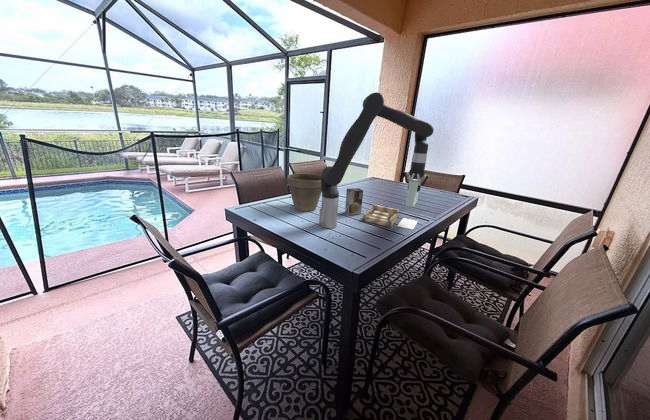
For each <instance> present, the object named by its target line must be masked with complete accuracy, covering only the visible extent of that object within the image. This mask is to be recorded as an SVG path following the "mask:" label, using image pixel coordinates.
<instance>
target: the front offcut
mask: <svg viewBox="0 0 650 420" xmlns="http://www.w3.org/2000/svg"><path fill="white" fill-rule="evenodd" d="M371 217H374V218H379V219H383V220H387V217H385V216H381V215H377V214H372V215H371Z"/></svg>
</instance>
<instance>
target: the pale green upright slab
mask: <svg viewBox="0 0 650 420" xmlns="http://www.w3.org/2000/svg"><path fill="white" fill-rule="evenodd" d="M409 181H410V180H409ZM418 182H419V181H418V180H416V179H413V180H411V181H410V183H409V189H408V188H407V196H406V201H405V206H406V207H410V208H411V207H412V208H413V207H414V206H415V205H416V203H417V202H418V197H419V192H417V188H418Z"/></svg>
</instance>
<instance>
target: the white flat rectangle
mask: <svg viewBox="0 0 650 420" xmlns="http://www.w3.org/2000/svg"><path fill="white" fill-rule="evenodd" d="M417 224H418V220H415V219H410V218H405V217H403V218H402V219H401V220H400V222H399V223H398V224H397V226H396V227H398V228H403V229H406V230H411V231H414V228H415V227H416V225H417Z"/></svg>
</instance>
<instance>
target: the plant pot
mask: <svg viewBox="0 0 650 420" xmlns="http://www.w3.org/2000/svg"><path fill="white" fill-rule="evenodd" d="M321 176H322V174H321V175H320V174H316V173H304V172H303V173H291V174H288V175H287V177H286V181H287V182H286V183H287V185H288V187H289V191H290V195H291V199H292V203H293V204H292V205H293V207H294V209H295V210H297V211H299V212H313V211H315V210H316V209H317V207H318V205H319V201H320V198H321V197H322V191H321Z"/></svg>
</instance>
